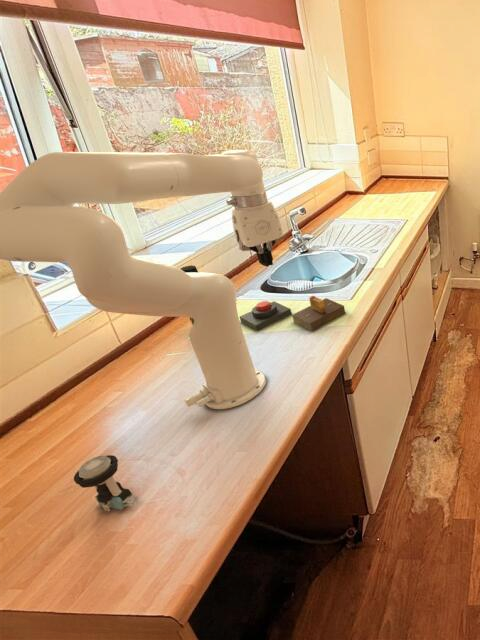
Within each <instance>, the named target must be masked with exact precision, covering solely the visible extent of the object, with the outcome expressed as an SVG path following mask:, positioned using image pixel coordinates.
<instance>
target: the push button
mask: <svg viewBox="0 0 480 640" xmlns="http://www.w3.org/2000/svg"><path fill="white" fill-rule="evenodd" d="M118 462H119V460H118V458H117V456H115V455H112V454H111V455H110V454H108V455H98V456H96V457H95V456H94V457H92V458H90V459H89V460H87V461H86V462H84V463H83V464H82V465H81V466H80V467H79V469H78V470H77V471H76V472H75V474H74V477H73V481H74V483H75V484H77V485H79V487H81V488H82V489H86V488H93V487H94V488H95V491H96V493H97V494H96V495H95V496H94V498H95V499H96V501H97V502H98V505H99V506H100V507H102V508H103V510H104V511H106V512H111V509H117V510H121V511H122V510H124V509H125V508H126V507H134V506H136V504H137V503H138V502H137V501H135V500H136V498H134V497H132V496H133V494H132V491H131V490H130V489H129V488H124V487H123V485H122V484H121V483H120V481H116V480H115V478H114V477H113V476H114V475H115V474H116V473H117V471H118V466H119V463H118Z"/></svg>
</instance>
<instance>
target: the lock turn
mask: <svg viewBox="0 0 480 640" xmlns="http://www.w3.org/2000/svg"><path fill="white" fill-rule="evenodd" d="M323 300H324V299H321V298H319V297H316V296H315V295H311V296H309V303H310V306H311V308H312V309H314V310H316V311H318V312H320V313H323V312H325V306H324V301H323Z"/></svg>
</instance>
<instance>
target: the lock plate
mask: <svg viewBox="0 0 480 640" xmlns="http://www.w3.org/2000/svg"><path fill="white" fill-rule="evenodd" d="M322 300H323V301H324V306H325V312H323V313H320V312H318V311H316V310H314V309H312V308H311V305H309V306H307V307H305V308H303V309H301V310H299V311H297V312H295V313H292V320H293V323H294V324H296V325H298V326H300V327H302V328H304V329H306V330H308V331H310V332H314V331H316V330H318V329H320V328H321V327H323V326H326V325H327V324H329V323H331V322H332V321H334V320H336V319H339V318H340V317H341V316H343V315H345V314H346V309H345V305H343V304H341V303H338V302H336V301H334V300H331V299H329V298H324V299H322Z"/></svg>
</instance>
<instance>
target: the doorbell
mask: <svg viewBox="0 0 480 640" xmlns="http://www.w3.org/2000/svg"><path fill="white" fill-rule="evenodd" d="M270 306H271V308H270V309H268V310H266V311H258V310H257V306H256V305H255V306H254V307H252V309H251V311H249V312H246V313H244V314H242V315H240V316H239V321H240V324H243V325H245V326H247V327H248V328H251V329H252V330H254V331H256V332H259V331H261V330H263V329H265V328H267V327H270V326H271V325H273V324H275V323H278V322H279V321H281V320H283V319H286V318H288V317H290V316H291V315H293V313H292V310H291V308H289V307H288V306H285V305H283V304H280V303H278V302H277V301H270Z"/></svg>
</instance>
